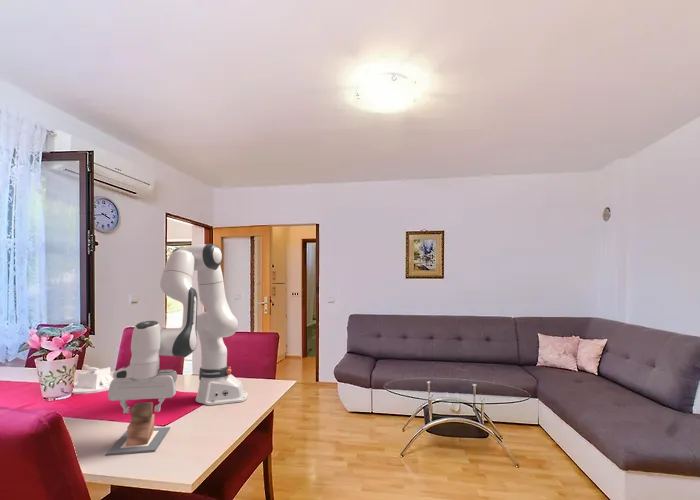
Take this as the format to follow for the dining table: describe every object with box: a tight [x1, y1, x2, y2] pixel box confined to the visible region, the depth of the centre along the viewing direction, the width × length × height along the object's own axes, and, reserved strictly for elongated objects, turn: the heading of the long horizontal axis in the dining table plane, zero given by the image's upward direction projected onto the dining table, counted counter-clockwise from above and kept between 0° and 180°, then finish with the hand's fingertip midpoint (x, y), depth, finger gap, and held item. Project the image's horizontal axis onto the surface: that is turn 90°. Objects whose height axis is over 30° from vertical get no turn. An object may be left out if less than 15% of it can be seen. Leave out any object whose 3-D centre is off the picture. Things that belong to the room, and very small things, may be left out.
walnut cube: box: [130, 401, 154, 424], centre depth 124 cm, size 5×5×5 cm
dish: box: [72, 364, 114, 395], centre depth 183 cm, size 25×25×11 cm
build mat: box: [104, 426, 171, 456], centre depth 123 cm, size 14×18×1 cm
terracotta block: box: [126, 413, 155, 446], centre depth 123 cm, size 6×10×6 cm, turn 17°
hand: (142, 412), depth 124 cm, fingers open, 8 cm apart
